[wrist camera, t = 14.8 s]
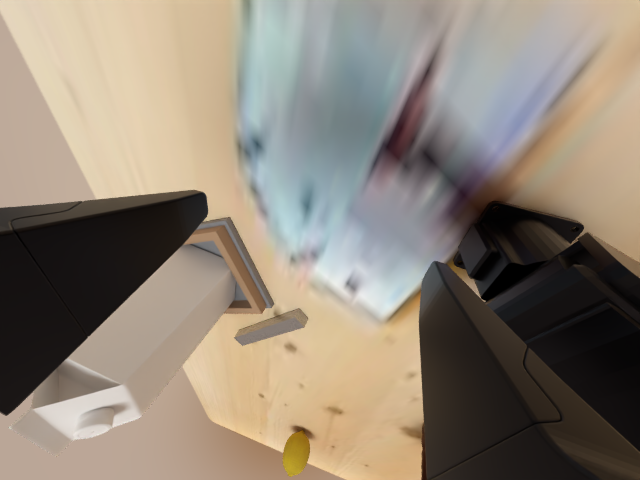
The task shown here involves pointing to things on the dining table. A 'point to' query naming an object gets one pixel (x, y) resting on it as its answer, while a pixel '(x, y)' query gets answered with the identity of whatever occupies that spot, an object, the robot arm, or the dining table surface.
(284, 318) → the steel rail
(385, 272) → the dining table surface
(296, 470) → the lemon
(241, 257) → the brown and grey tray
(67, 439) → the milk carton
